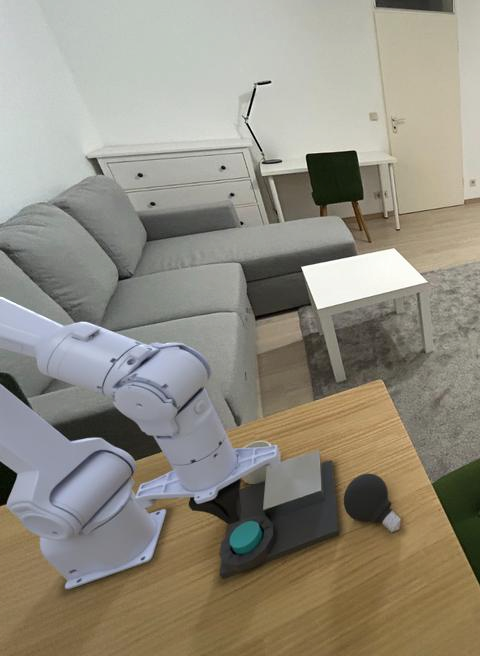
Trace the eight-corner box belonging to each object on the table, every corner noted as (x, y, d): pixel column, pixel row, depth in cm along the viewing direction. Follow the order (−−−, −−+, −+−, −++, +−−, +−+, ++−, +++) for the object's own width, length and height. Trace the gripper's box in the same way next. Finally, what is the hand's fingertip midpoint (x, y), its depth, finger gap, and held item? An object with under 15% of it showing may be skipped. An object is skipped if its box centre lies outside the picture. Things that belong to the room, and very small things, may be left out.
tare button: (231, 558, 52) (227, 552, 51) (235, 533, 55) (231, 526, 54) (261, 547, 53) (258, 541, 52) (263, 523, 56) (260, 517, 55)
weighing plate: (270, 526, 58) (262, 509, 56) (273, 481, 65) (266, 465, 63) (326, 506, 61) (321, 490, 59) (324, 465, 67) (319, 449, 65)
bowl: (241, 490, 63) (232, 472, 61) (245, 464, 68) (237, 446, 66) (277, 478, 65) (270, 460, 63) (279, 454, 70) (272, 436, 67)
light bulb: (391, 533, 53) (340, 484, 55) (378, 557, 55) (329, 509, 58) (419, 501, 58) (371, 457, 61) (406, 524, 61) (360, 481, 64)
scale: (221, 586, 51) (213, 574, 50) (235, 496, 62) (229, 484, 61) (340, 540, 56) (336, 528, 55) (333, 465, 67) (329, 453, 66)
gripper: (104, 497, 39) (160, 570, 45) (264, 450, 44) (294, 522, 50) (129, 444, 45) (175, 515, 51) (268, 407, 49) (294, 477, 56)
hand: (235, 515), depth 51 cm, fingers closed
